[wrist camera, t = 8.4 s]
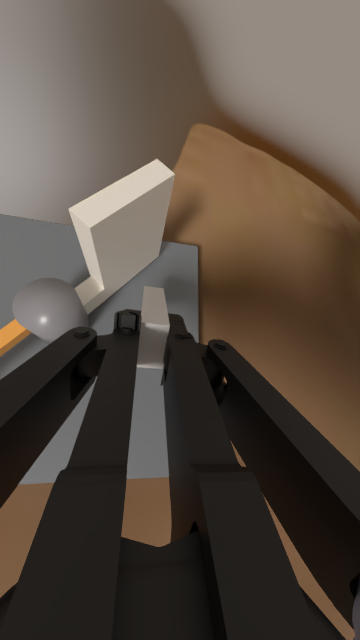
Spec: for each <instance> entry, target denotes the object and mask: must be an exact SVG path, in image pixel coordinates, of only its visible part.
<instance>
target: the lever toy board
mask: <svg viewBox="0 0 360 640" xmlns="http://www.w3.org/2000/svg"><path fill="white" fill-rule="evenodd" d="M89 277H90V273H89V270H88V267H87V264H86V261H85V258H84V255H83V252H82V249H81V246H80V243H79V239H78V236H77V233H76V230H75V227H74V226H69V225H63V224H57V223H51V222H45V221H39V220H33V219H26V218H21V217H15V216H8V215H2V214H0V330H1V329H2V328H3V327H5V326H6V325H7V324H9V323H10V322H12V321H13V320H14V319H15V317H14V314H13V309H12V306H13V301H14V298H15V296H16V294H17V293H18V292H19V290H20V289H21V288H22V287H24V286H25V285H26V284H28V283H30V282H32V281H34V280H37V279H41V278H57V279H60V280H63V281H65V282H67V283H69V284H70V285H71V286H72V287H73V288H76V287H77V286H78V285H80V284H81V283H82V282H84V281H85V280H86V279H88V278H89ZM144 286H150V287H157V288H164V294H165V300H166V306H167V312H168V313H170V314H179V315H180V316H181V317H182V318H183V319H184V322H185V326H186V329H187V332H189V333H191V334H192V335H193V337H194V339H195V342H197V343H199V333H198V246H192V245H186V244H180V243H174V242H168V241H162V242H161V247H160V252H159V257H157V258H156V259H155V260H154V261H152V262H151V263H150V264H149V265H148V266H146V267H145V268H144V269H143V270H142V271H140V272H139V273H138V274H137V275H135V276H134V277H133V278H132V279H131V280H129V281H128V282H127V283H126V284H125V285H123V286H122V287H121V288H120V289H118V290H117V291H116V292H115V293H114V294H112V295H111V296H110V297H109V298H108V299H106V300H105V301H104V302H103V303H101V304H100V305H99V306H98V307H97V308H95V309H94V310H93V311H92V312H91V313H89V314H88V317H89V326H88V327H89V328H92V329H94V330H95V331H96V332H97V336H99V335H107V334H111V333H112V332H113V329H114V315H115V313H116V312H118V311H123V310H125V309H132V310H140V311H141V310H142V301H143V292H144ZM48 345H49V343H47V342H46V341H44V340H42V339H41V338H39V337H38V336H36V335H35V334H33V333H30V334H29V335H28V336H26V337H25V338H24V339H22V340H21V341H20V342H19V343H17V344H16V345H15V346H13V347H12V348H11V349H9V350H8V351H7V352H6V353H4V354H3V355H2V356H0V380H1V379H2V378H3V377H5V376H6V375H8V374H9V373H10V372H12V371H13V370H14V369H16V368H17V367H19V366H20V365H21V364H23V363H24V362H25V361H27V360H28V359H30V358H31V357H32V356H34V355H35V354H37V353H38V352H39V351H41V350H42V349H43V348H45V347H46V346H48ZM163 368H164V363H163V367H162V369H156V368H142V367H137V369H136V380H135V390H134V401H133V411H132V421H131V432H130V442H129V453H128V463H127V479H138V478H158V477H169V469H168V453H167V438H166V423H165V407H164V392H163V385H162V386H160V385H161V379H162V374H163ZM97 377H98V376H96V379H95V382H96V380H97ZM95 382H94V383H93V384H92V386H91V387H90V388H89V390H88V391H87V392H86V394H85V395H84V396H83V398H82V399H81V400H80V402H79V403H78V405H77V406H76V407H75V409H74V410H73V411H72V413H71V414H70V415H69V417H68V418H67V419H66V421H65V422H64V423H63V425H62V426H61V427H60V429H59V430H58V431H57V433H56V434H55V436H54V437H53V438H52V440H51V441H50V442H49V444H48V445H47V446H46V448H45V449H44V450H43V452H42V453H41V454H40V456H39V457H38V458H37V460H36V461H35V462H34V464H33V465H32V467H31V468H30V469H29V471H28V472H27V473H26V475H25V476H24V477H23V479H22V480H21V481H20V483H19V484H34V483H55V480H56V478H57V476H58V474H59V473H60V471H61V470H63V469H65V468H66V466H67V464H68V462H69V459H70V456H71V453H72V450H73V447H74V444H75V441H76V438H77V436H78V433H79V430H80V427H81V424H82V421H83V418H84V415H85V412H86V409H87V406H88V403H89V400H90V397H91V394H92V391H93V388H94V385H95Z"/></svg>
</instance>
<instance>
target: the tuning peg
mask: <svg viewBox="0 0 360 640" xmlns="http://www.w3.org/2000/svg"><path fill="white" fill-rule="evenodd" d="M174 177H175V174H174V173H173V172H172V171H171V170H170V169H168V168H167V167H166V166H165V165H164V164H162V163H161V162H160V161H159V160H158V159H156V160H154V161H153V162H151V163H149V164H147V165H146V166H144V167H142V168H140V169H139V170H137V171H135V172H133V173H131V174H130V175H128V176H126V177H124V178H122V179H121V180H119V181H117V182H115V183H114V184H112V185H110V186H108V187H106V188H105V189H103V190H101V191H99V192H98V193H96V194H94V195H92V196H90V197H89V198H87V199H85V200H83V201H82V202H80V203H78V204H76V205H74V206H73V207H71V208H69V212H70V215H71V218H72V221H73V224H74V227H75V230H76V233H77V236H78V239H79V243H80V246H81V249H82V252H83V255H84V258H85V261H86V264H87V267H88V270H89V273H90V277H89V278H88V279H86V280H85V281H84V282H82V283H81V284H80V285H78V286H77V287H76V288H73V287H72V286H71V285H70V284H69V283H67V282H65V281H63V280H60V279H57V278H41V279H37V280H34V281H32V282H30V283H28V284H26V285H25V286H24V287H22V288H21V289H20V290H19V292H18V293H17V294H16V296H15V298H14V301H13V306H12V309H13V314H14V317H15V319H14V320H13V321H12V322H10V323H9V324H7V325H6V326H5V327H3V328H2V329H1V330H0V356H2V355H3V354H4V353H6V352H7V351H8V350H9V349H11V348H12V347H13V346H15V345H16V344H17V343H19V342H20V341H21V340H22V339H24V338H25V337H26V336H28V335H29V334H30V333H33V334H35V335H36V336H38V337H39V338H41V339H42V340H44V341H46V342H47V343H49V344H50V343H52V342H53V341H54V340H56V339H57V338H59V337H60V336H61V335H63V334H64V333H66V332H67V331H68V330H70V329H72V328H77V327H88V326H89V317H88V314H89V313H91V312H92V311H93V310H94V309H95V308H97V307H98V306H99V305H100V304H101V303H103V302H104V301H105V300H106V299H108V298H109V297H110V296H111V295H112V294H114V293H115V292H116V291H117V290H118V289H120V288H121V287H122V286H123V285H125V284H126V283H127V282H128V281H129V280H131V279H132V278H133V277H134V276H135V275H137V274H138V273H139V272H140V271H142V270H143V269H144V268H145V267H146V266H148V265H149V264H150V263H151V262H152V261H154V260H155V259H156V258H157V257H159V252H160V247H161V242H162V237H163V232H164V227H165V222H166V217H167V212H168V207H169V202H170V197H171V192H172V187H173V182H174Z"/></svg>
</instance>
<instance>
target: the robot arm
mask: <svg viewBox="0 0 360 640" xmlns="http://www.w3.org/2000/svg"><path fill="white" fill-rule="evenodd" d="M163 363H164V368H163V374H162V379H161V385H160V386H162V385H163V392H164V407H165V423H166V438H167V453H168V469H169V484H170V500H171V515H172V530H171V543H169V544H167V545H165V546H162V547H155V546H151V545H148V544H144V543H141V542H137V541H134V540H130V539H127V538H123V537H121V532H122V521H123V511H124V500H125V489H126V479H127V463H128V453H129V442H130V432H131V421H132V411H133V401H134V390H135V380H136V369H137V367H142V368H156V369H162V367H163ZM96 376H98V377H97V380H96V382H95V379H96ZM224 377H225V378H226V380H227V384H226V383H225V382H224V381H223V380H224ZM94 382H95V385H94V388H93V391H92V394H91V397H90V400H89V403H88V406H87V409H86V412H85V415H84V418H83V421H82V424H81V427H80V430H79V433H78V436H77V438H76V441H75V444H74V447H73V450H72V453H71V456H70V459H69V462H68V464H67V466H66V468H65V469H63V470H61V471H60V473H59V474H58V476H57V478H56V480H55V483H54V485H53V488H52V490H51V493H50V496H49V498H48V501H47V504H46V507H45V509H44V512H43V515H42V518H41V520H40V523H39V526H38V528H37V531H36V534H35V537H34V539H33V542H32V545H31V548H30V550H29V553H28V556H27V558H26V561H25V564H24V567H23V569H22V572H21V575H20V578H19V580H18V582H17V583H16V584H15V585H14V586H13V587H11V588H10V589H9V590H8V591H7V592H6V593H5V594H4V595H3V596H2V597H1V598H0V640H346V639H345V638H344V637H343V636H342V634H341V633H340V632H339V631H338V630H337V629H336V627H335V626H334V625H333V624H332V623H331V622H330V621H329V619H328V618H327V617H326V616H325V615H324V614H323V612H322V611H321V610H320V609H319V608H318V607H317V605H316V604H315V603H314V602H313V601H312V600H311V599H310V597H309V596H308V595H307V594H306V593H305V592H304V590H303V589H302V588H301V587H300V586H299V584H298V581H297V579H296V576H295V574H294V571H293V569H292V566H291V564H290V561H289V559H288V556H287V554H286V551H285V549H284V546H283V544H282V541H281V539H280V536H279V534H278V531H277V529H276V526H275V524H274V521H273V519H272V516H271V514H270V511H269V509H268V506H267V504H266V501H265V499H264V496H265V498H266V500H267V501H268V503H269V505H270V506H271V508H272V510H273V511H274V513H275V515H276V516H277V518H278V520H279V521H280V523H281V525H282V526H283V528H284V530H285V531H286V533H287V535H288V536H289V538H290V540H291V541H292V543H293V545H294V546H295V548H296V550H297V551H298V553H299V555H300V556H301V558H302V559H303V561H304V562H305V564H306V566H307V567H308V569H309V570H310V572H311V573H312V575H313V576H314V578H315V580H316V581H317V583H318V584H319V585H320V587H321V588H322V589H323V591H324V592H325V594H326V595H327V596H328V598H329V599H330V600H331V602H332V603H333V605H334V606H335V607H336V609H337V610H338V611H339V612H340V614H341V615H342V616H343V617H344V618H345V620H346V621H347V622H348V623H349V625H350V626H351V627H352V628H353V629H354V632H355V635H356V636H355V637H354V638H353V640H360V472H359V471H358V470H357V469H356V468H355V467H354V466H353V465H352V464H351V463H350V462H349V461H348V460H347V459H346V458H345V457H344V456H343V455H342V454H341V453H340V452H339V451H338V450H337V449H336V448H335V447H334V446H333V445H332V444H331V443H330V442H329V441H328V440H327V439H326V438H325V437H324V436H323V435H322V434H321V433H320V432H319V431H318V430H317V429H316V428H315V427H314V426H313V425H312V424H311V423H310V422H309V421H308V420H307V419H305V418H304V417H303V416H302V415H301V414H300V413H299V412H298V411H297V410H296V409H295V408H294V407H293V406H292V405H291V404H290V403H289V402H288V401H287V400H286V399H285V398H284V397H283V396H282V395H281V394H280V393H279V392H278V391H277V390H276V389H275V388H274V387H273V386H272V385H271V384H270V383H269V382H268V381H267V380H266V379H265V378H264V377H263V376H262V375H261V374H260V373H259V372H258V371H257V370H256V369H255V368H254V367H253V366H252V365H251V364H250V363H249V362H248V361H247V360H245V359H244V358H243V357H242V356H241V355H240V354H239V353H238V352H237V351H236V350H235V349H234V348H233V347H232V346H231V345H230V344H229V343H227V342H225V341H223V340H219V339H218V340H216V339H214V340H210V341H209V342H208V346H207V345H203V344H200V343H197V342H195V339H194V337H193V335H192V334H191V333H189V332H187V329H186V326H185V322H184V319H183V318H182V317H181V316H180V315H179V314H170V313H168V312H167V306H166V300H165V294H164V288H157V287H150V286H144V292H143V301H142V310H141V311H140V310H132V309H125V310H123V311H118V312H116V313H115V315H114V329H113V332H112V333H111V334H107V335H99V336H97V332H96V331H95V330H94V329H92V328H89V327H77V328H72V329H70V330H68V331H67V332H66V333H64V334H63V335H61V336H60V337H59V338H57V339H56V340H54V341H53V342H52V343H50V344H49V345H48V346H46V347H45V348H43V349H42V350H41V351H39V352H38V353H37V354H35V355H34V356H32V357H31V358H30V359H28V360H27V361H25V362H24V363H23V364H21V365H20V366H19V367H17V368H16V369H14V370H13V371H12V372H10V373H9V374H8V375H6V376H5V377H3V378H2V379H1V380H0V508H1V507H2V506H3V504H4V503H5V502H6V500H7V499H8V498H9V496H10V495H11V494H12V492H13V491H14V489H15V488H16V487H17V485H18V484H19V483H20V481H21V480H22V479H23V477H24V476H25V475H26V473H27V472H28V471H29V469H30V468H31V467H32V465H33V464H34V462H35V461H36V460H37V458H38V457H39V456H40V454H41V453H42V452H43V450H44V449H45V448H46V446H47V445H48V444H49V442H50V441H51V440H52V438H53V437H54V436H55V434H56V433H57V431H58V430H59V429H60V427H61V426H62V425H63V423H64V422H65V421H66V419H67V418H68V417H69V415H70V414H71V413H72V411H73V410H74V409H75V407H76V406H77V405H78V403H79V402H80V400H81V399H82V398H83V396H84V395H85V394H86V392H87V391H88V390H89V388H90V387H91V386H92V384H93V383H94ZM230 440H231V441H230ZM231 442H232V443H233V445H234V447H235V448H236V450H237V452H238V453H239V455H240V456H241V458H242V460H243V461H244V463H245V465H246V466H247V467H242V466H241V465H240V464H239V463H238V461H237V458H236V455H235V452H234V450H233V447H232V444H231ZM262 493H263V494H262ZM263 495H264V496H263Z"/></svg>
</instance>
